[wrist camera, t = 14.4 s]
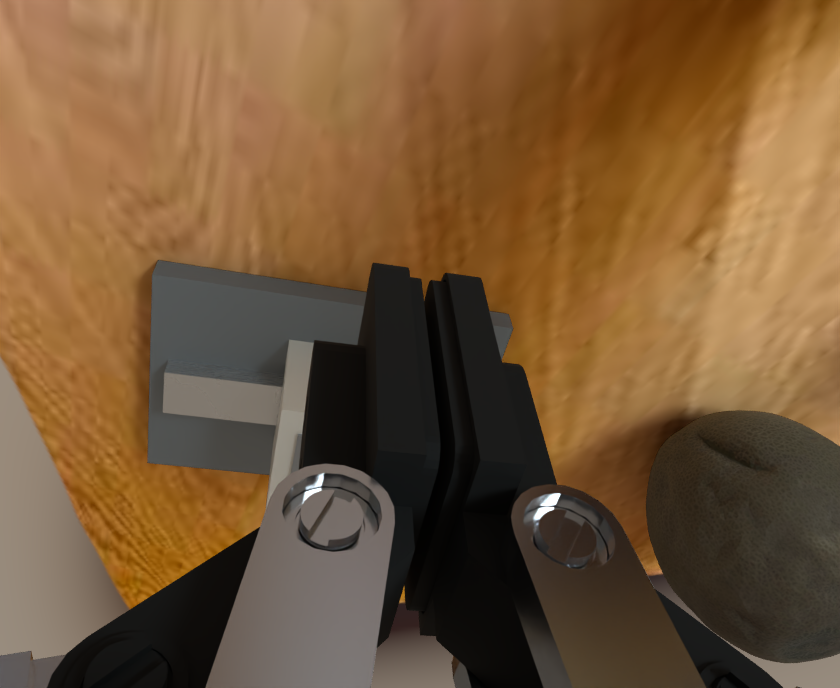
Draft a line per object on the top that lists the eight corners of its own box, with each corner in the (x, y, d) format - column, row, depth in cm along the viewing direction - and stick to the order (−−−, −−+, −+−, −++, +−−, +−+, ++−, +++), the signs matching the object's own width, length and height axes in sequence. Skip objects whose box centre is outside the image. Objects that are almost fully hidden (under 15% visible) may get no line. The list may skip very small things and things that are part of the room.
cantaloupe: (591, 506, 54) (662, 705, 42) (656, 356, 46) (768, 549, 34) (762, 514, 56) (876, 704, 44) (853, 372, 48) (1023, 558, 36)
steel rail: (471, 397, 45) (474, 410, 44) (458, 433, 46) (461, 446, 45) (168, 359, 41) (164, 372, 40) (166, 399, 43) (162, 412, 42)
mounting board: (508, 314, 43) (513, 328, 42) (449, 477, 51) (451, 492, 50) (158, 260, 39) (152, 274, 38) (152, 446, 47) (147, 462, 46)
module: (375, 351, 42) (380, 423, 37) (352, 449, 46) (352, 526, 41) (289, 339, 41) (281, 412, 36) (273, 441, 45) (264, 518, 40)
